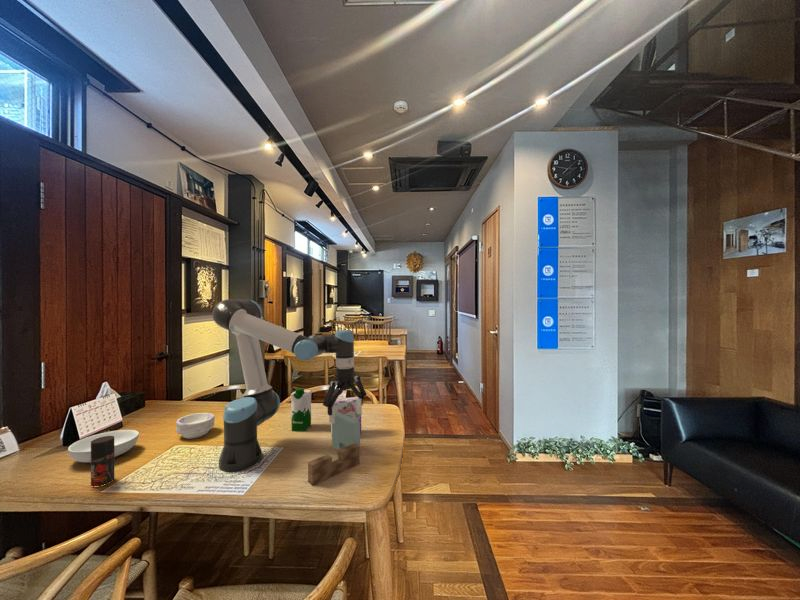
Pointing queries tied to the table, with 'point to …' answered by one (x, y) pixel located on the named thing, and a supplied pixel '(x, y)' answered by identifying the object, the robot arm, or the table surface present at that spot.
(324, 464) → the walnut board
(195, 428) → the paper bowls
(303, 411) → the milk carton
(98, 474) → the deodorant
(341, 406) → the candy box
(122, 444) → the serving bowl
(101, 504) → the table surface
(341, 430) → the pale green slab
